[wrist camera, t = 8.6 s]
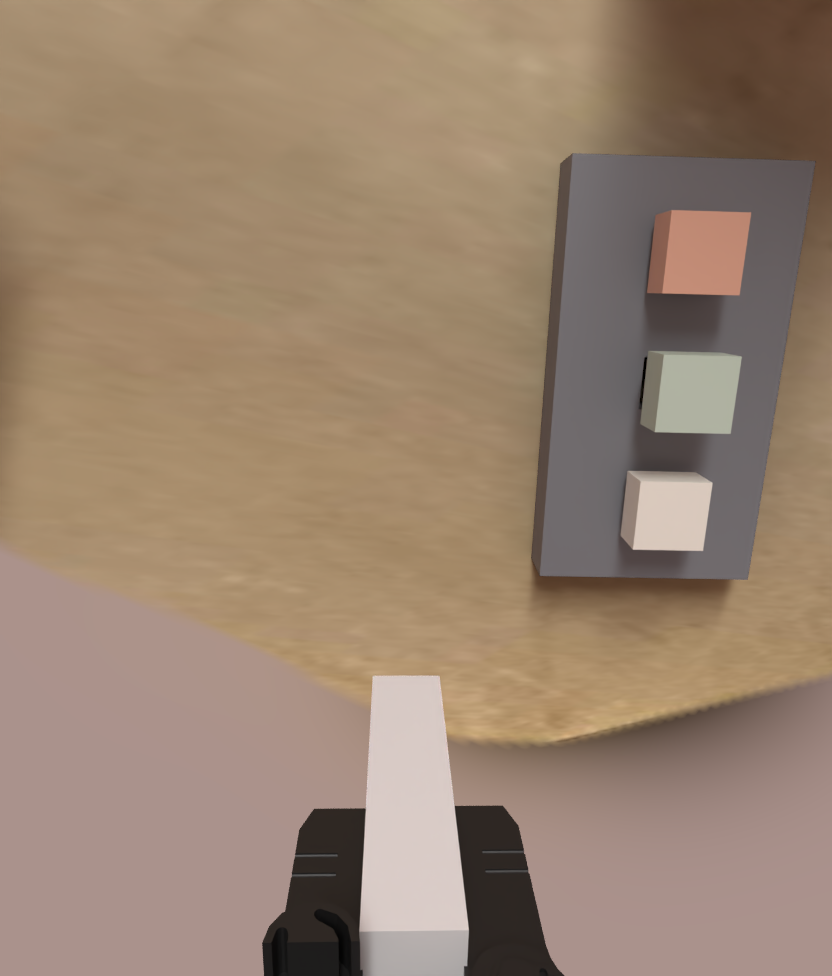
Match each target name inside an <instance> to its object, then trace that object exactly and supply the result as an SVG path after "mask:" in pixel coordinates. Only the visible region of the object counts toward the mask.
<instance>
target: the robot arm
mask: <svg viewBox="0 0 832 976" xmlns="http://www.w3.org/2000/svg"><path fill="white" fill-rule="evenodd" d="M369 742H370V743H369V760H368V779H367V780H368V781H367V797H366V809H314V810H313V811H312V813H311V814H310V816H309V817H308V818H307V820H306V821H305V823H304V824H303V825H302V827H301V828H300V830H299V835H298V841H297V847H296V853H295V859H294V864H293V871H292V878H291V882H290V887H289V893H288V899H287V905H286V911H285V912H284V913H282V914H281V915H280V916H279V917H278V918H277V919H276V920H275V921H274V922H273V923H272V924H271V925H270V926H269V928H268V931H267V933H266V936H265V938H264V940H263V943H262V944H263V945H262V946H263V963H264V976H564V975H563V974H562V973H561V972H560V971H559V970H558V969H557V967H556V966H555V964H554V963H553V961H552V960H551V958H550V955H549V953H548V950H547V947H546V944H545V940H544V935H543V932H542V927H541V922H540V918H539V914H538V909H537V905H536V901H535V896H534V892H533V888H532V883H531V879H530V874H529V873H528V866H527V861H526V857H525V854H524V848H523V844H522V840H521V835H520V831H519V827H518V825H517V824H516V822H515V821H514V820H513V819H512V817H511V816H510V815H509V814H508V812H507V811H506V809H505V808H504V807H503V806H454V798H453V789H452V781H451V772H450V765H449V755H448V746H447V738H446V729H445V720H444V712H443V703H442V695H441V686H440V677H439V676H373V684H372V703H371V722H370V741H369Z"/></svg>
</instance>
